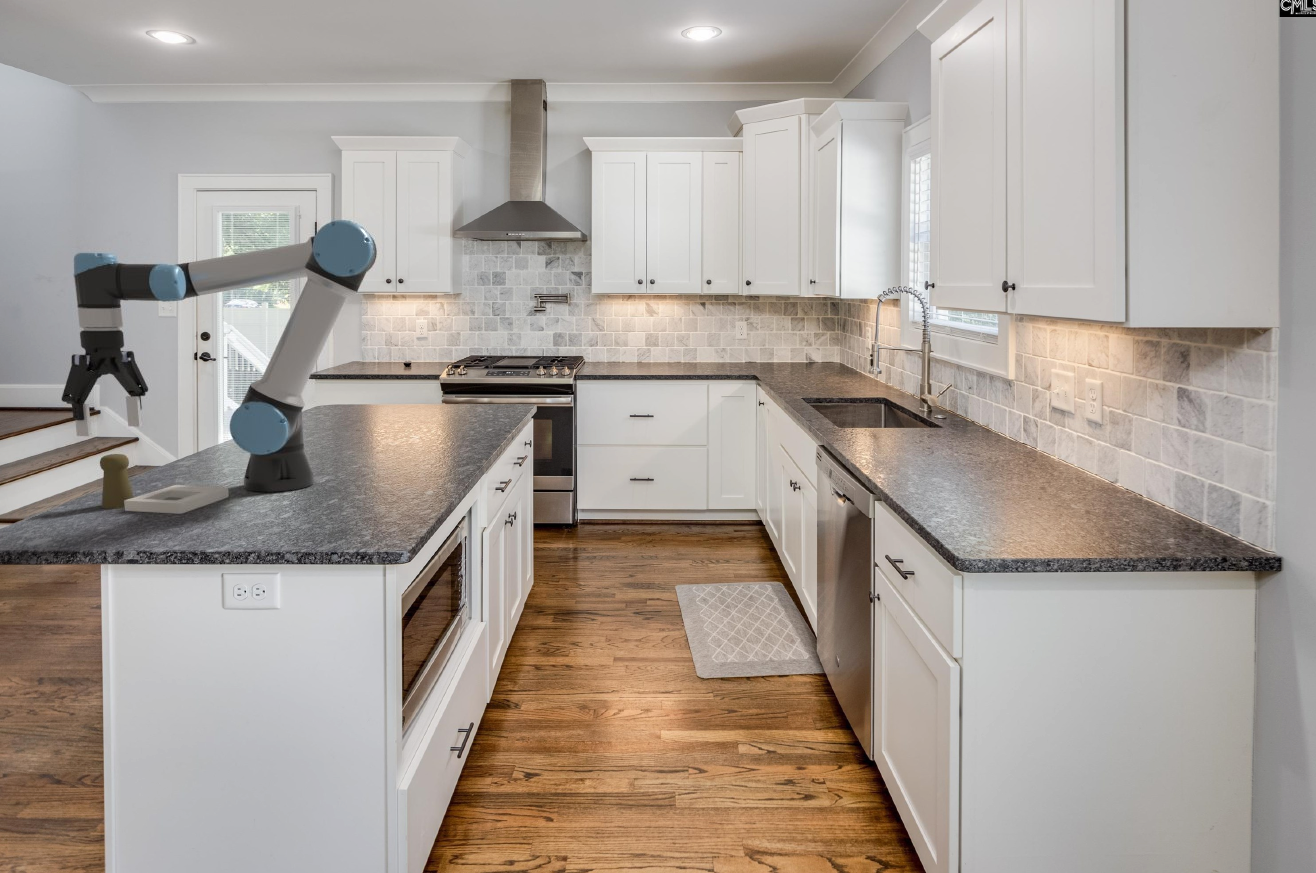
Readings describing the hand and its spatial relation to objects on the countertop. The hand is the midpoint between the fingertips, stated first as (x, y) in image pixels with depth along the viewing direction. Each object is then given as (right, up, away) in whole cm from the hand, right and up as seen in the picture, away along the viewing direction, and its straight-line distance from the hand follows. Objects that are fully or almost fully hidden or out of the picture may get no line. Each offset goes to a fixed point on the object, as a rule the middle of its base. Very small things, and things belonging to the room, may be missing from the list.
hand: (110, 431), depth 179 cm
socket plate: (+12, -16, +4) cm, 20 cm away
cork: (0, -16, +3) cm, 16 cm away
